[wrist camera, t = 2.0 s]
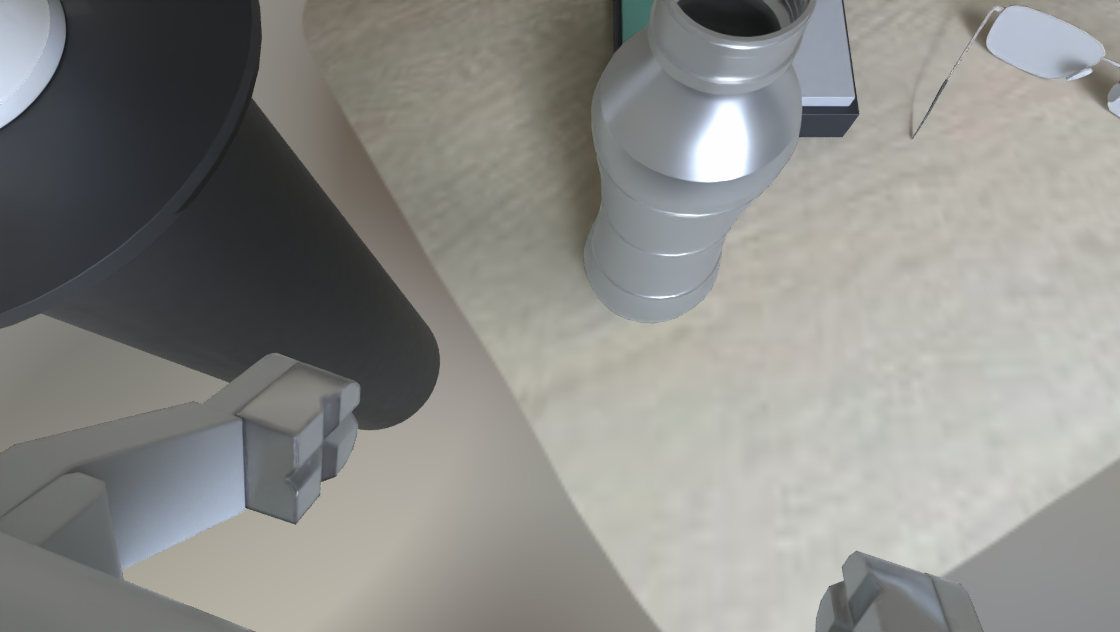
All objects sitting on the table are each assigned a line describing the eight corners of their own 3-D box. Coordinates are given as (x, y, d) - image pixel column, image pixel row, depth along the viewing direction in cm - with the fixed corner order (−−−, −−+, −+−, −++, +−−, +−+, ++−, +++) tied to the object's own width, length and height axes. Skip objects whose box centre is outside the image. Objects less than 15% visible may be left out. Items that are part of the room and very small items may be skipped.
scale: (614, 136, 37) (618, 104, 34) (612, -45, 40) (615, -87, 38) (842, 137, 36) (866, 105, 34) (819, -45, 40) (838, -87, 37)
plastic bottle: (714, 331, 33) (912, 92, 14) (583, 335, 33) (605, 102, 14) (702, 218, 35) (863, -129, 16) (579, 222, 35) (592, -120, 16)
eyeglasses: (1195, 154, 36) (1268, 117, 32) (1134, 268, 35) (1202, 244, 31) (963, 38, 38) (1005, -9, 34) (898, 142, 37) (934, 104, 33)
